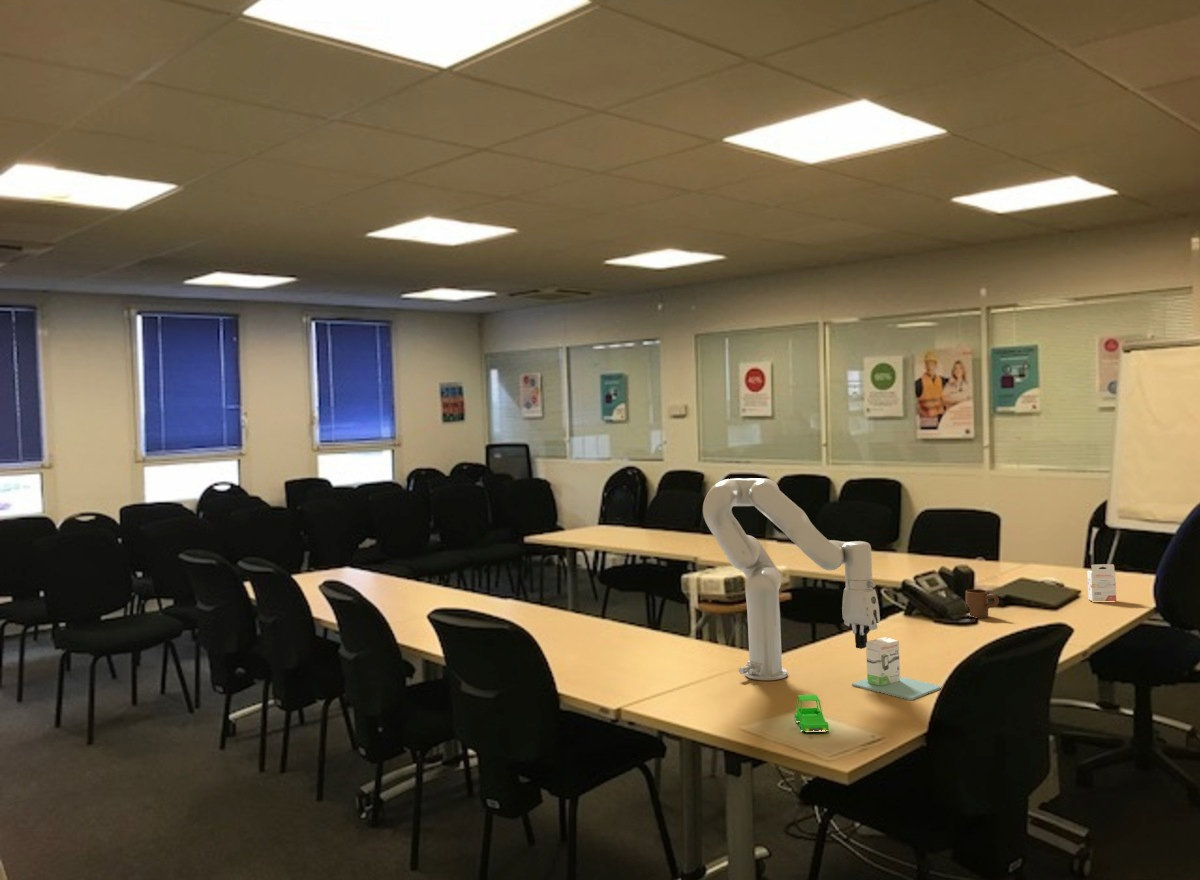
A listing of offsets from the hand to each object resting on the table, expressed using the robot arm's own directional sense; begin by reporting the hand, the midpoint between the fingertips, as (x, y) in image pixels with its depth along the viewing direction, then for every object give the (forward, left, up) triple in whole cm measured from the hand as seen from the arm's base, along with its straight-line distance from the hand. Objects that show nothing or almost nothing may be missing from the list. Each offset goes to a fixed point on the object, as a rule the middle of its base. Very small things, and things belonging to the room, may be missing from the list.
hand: (861, 647), depth 267 cm
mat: (0, -11, -9) cm, 15 cm away
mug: (+92, +15, -9) cm, 94 cm away
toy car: (-42, -15, -10) cm, 45 cm away
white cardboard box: (0, -7, -9) cm, 11 cm away
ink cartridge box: (+144, -4, -9) cm, 144 cm away
